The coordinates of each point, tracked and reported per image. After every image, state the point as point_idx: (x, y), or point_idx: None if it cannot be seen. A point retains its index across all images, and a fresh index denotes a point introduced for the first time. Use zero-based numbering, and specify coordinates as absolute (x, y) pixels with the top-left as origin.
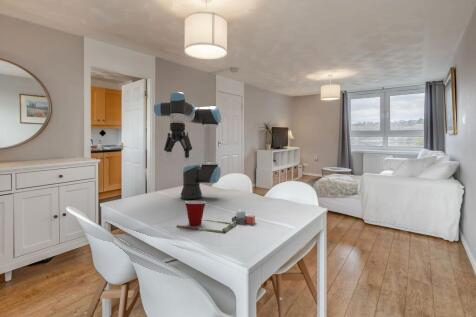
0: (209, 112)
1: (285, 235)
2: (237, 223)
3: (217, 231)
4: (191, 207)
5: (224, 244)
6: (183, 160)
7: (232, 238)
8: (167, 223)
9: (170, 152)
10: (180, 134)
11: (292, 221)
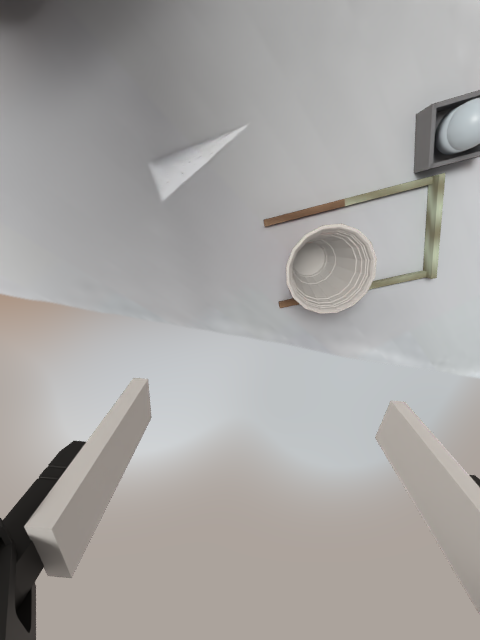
0: None
1: None
2: (439, 166)
3: (408, 279)
4: (333, 300)
5: (457, 334)
6: (400, 473)
7: (463, 295)
8: (228, 294)
9: (68, 538)
10: None
11: None
